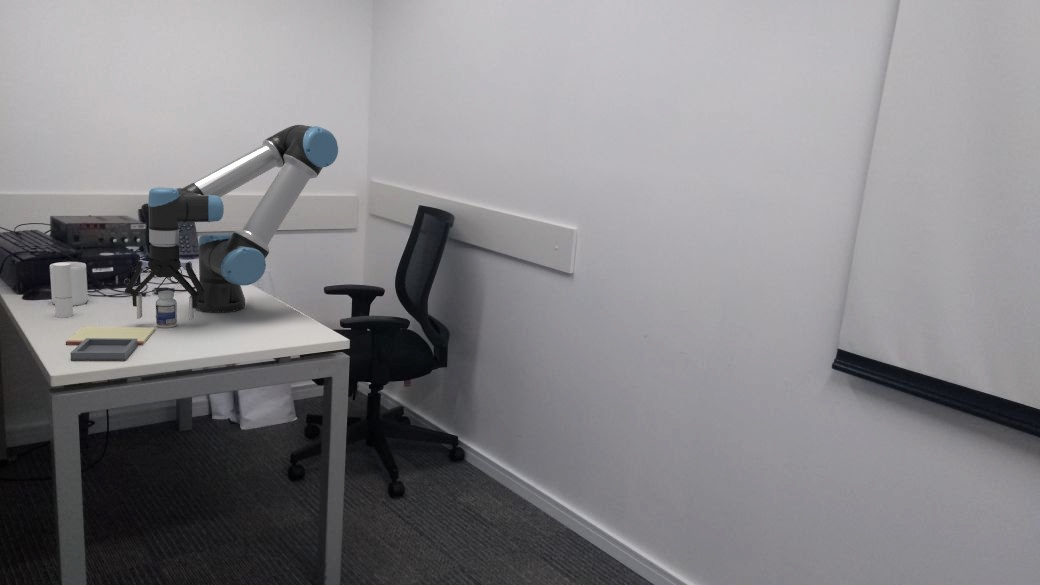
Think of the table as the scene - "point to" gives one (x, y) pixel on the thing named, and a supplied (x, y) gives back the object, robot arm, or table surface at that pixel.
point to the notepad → (111, 334)
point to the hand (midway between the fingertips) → (165, 318)
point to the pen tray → (104, 349)
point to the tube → (63, 289)
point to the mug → (74, 283)
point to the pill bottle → (166, 310)
